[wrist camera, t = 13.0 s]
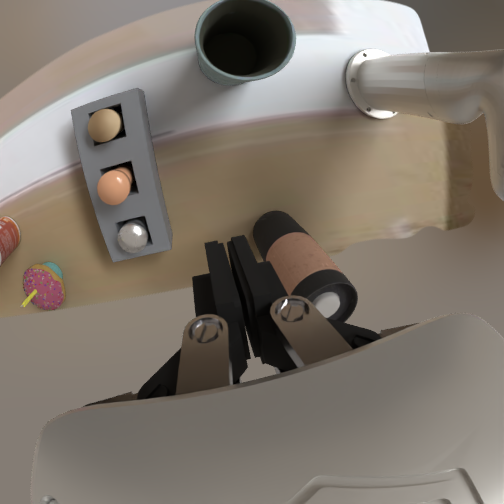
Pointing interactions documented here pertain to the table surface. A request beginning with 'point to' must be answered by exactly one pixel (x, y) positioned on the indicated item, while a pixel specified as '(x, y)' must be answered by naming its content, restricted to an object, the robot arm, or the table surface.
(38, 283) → the cupcake
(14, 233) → the pill bottle
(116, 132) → the oak plug
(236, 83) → the green tapered cup
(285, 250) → the travel mug
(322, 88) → the table surface
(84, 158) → the socket block
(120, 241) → the aluminium plug
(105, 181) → the terracotta plug
